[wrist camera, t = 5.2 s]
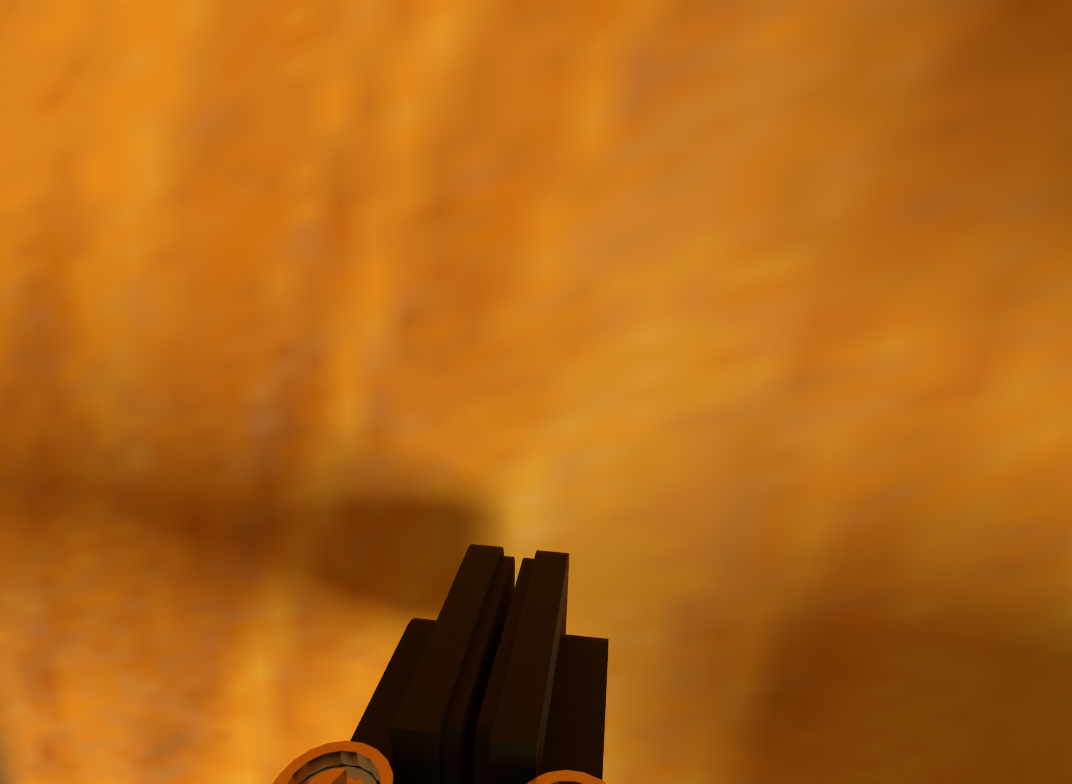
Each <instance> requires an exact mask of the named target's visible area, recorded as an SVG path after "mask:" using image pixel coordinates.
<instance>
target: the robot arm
mask: <svg viewBox="0 0 1072 784" xmlns="http://www.w3.org/2000/svg"><path fill="white" fill-rule="evenodd" d="M568 571H569V553H560V552H549V551H539V550H537V551H536V554H535V558H534V559H531V558H523V560H522V564H521V567H520V571H519V575H518V578H517V582H516V585H515V559H514V557H510V556H504V550H503V547H496V546H485V545H475V544H471V545H470V546H469V548H468V550H467V552H466V554H465V557H464V559H463V561H462V564H461V566H460V568H459V571H458V573H457V575H456V577H455V580H454V582H453V584H452V587H451V589H450V591H449V594H448V596H447V598H446V600H445V603H444V605H443V607H442V610H441V612H440V614H439V617H438V619H437V620H428V619H418V618H414V619H412V620H411V621H410V623H409V624H408V626H407V628H406V630H405V632H404V634H403V636H402V638H401V640H400V642H399V644H398V646H397V648H396V650H395V652H394V654H393V656H392V658H391V660H390V662H389V664H388V666H387V668H386V670H385V672H384V674H383V676H382V678H381V680H380V682H379V684H378V686H377V688H376V690H375V692H374V694H373V696H372V698H371V700H370V702H369V704H368V706H367V708H366V710H365V712H364V714H363V716H362V718H361V720H360V722H359V724H358V726H357V728H356V730H355V732H354V734H353V736H352V738H351V740H350V741H341V742H333V743H327V744H325V745H322V746H319V747H316V748H314V749H311V750H309V751H307V752H306V753H304V754H303V755H301V756H300V757H298V758H296V759H295V760H293V761H292V762H291V763H290V764H289V765H288V766H287V767H286V768H285V769H284V770H283V771H282V772H281V774H280V775H279V776H278V777H277V778H276V780H275V781H274V782H273V784H606V783H605V782H603V781H602V774H603V752H604V730H605V707H606V685H607V663H608V639H603V638H594V637H584V636H575V635H566V615H567V593H568ZM514 587H515V589H514Z"/></svg>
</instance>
